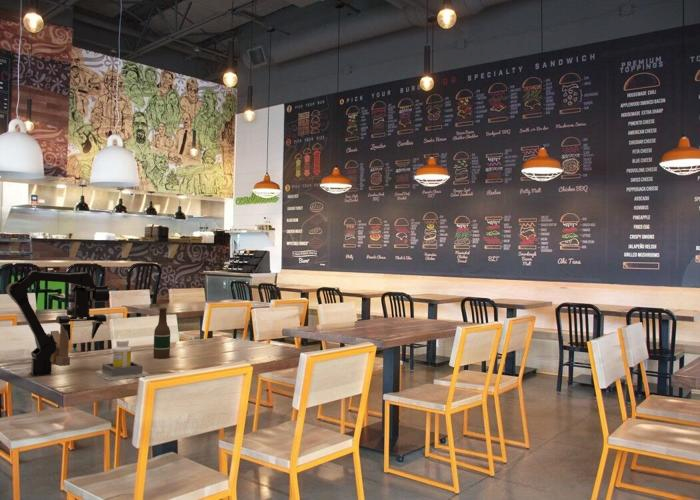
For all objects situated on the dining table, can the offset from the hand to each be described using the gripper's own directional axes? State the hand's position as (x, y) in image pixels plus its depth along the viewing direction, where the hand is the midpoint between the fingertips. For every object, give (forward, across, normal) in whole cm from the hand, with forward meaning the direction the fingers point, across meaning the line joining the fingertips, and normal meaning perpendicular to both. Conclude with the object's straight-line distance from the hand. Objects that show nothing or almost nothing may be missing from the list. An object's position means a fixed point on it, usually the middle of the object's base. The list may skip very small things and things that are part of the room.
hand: (80, 339), depth 249 cm
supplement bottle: (+12, -11, +19) cm, 25 cm away
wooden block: (+13, +3, -20) cm, 24 cm away
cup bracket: (+13, -11, +19) cm, 26 cm away
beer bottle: (+13, -41, -14) cm, 45 cm away
